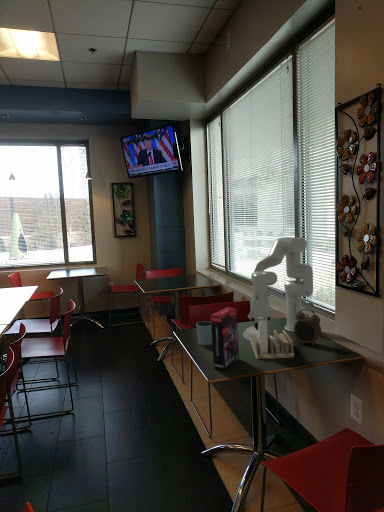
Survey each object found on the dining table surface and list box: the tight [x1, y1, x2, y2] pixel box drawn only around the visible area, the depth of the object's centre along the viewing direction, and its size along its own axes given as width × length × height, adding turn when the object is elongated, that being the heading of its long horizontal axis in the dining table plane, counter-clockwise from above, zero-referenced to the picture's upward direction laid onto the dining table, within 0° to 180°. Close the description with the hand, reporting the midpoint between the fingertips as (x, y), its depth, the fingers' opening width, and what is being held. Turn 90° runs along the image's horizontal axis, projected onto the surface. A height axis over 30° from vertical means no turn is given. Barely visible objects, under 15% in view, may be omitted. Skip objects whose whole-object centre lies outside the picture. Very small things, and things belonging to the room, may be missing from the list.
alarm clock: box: [294, 308, 322, 347], centre depth 208 cm, size 15×7×20 cm, turn 47°
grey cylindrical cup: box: [195, 320, 212, 346], centre depth 217 cm, size 10×10×12 cm
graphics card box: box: [210, 307, 240, 371], centre depth 184 cm, size 17×7×27 cm, turn 148°
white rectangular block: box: [255, 317, 269, 354], centre depth 200 cm, size 4×16×18 cm, turn 179°
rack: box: [250, 329, 295, 360], centre depth 201 cm, size 19×22×8 cm
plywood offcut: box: [277, 333, 289, 353], centre depth 201 cm, size 2×15×7 cm, turn 179°
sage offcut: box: [269, 334, 280, 354], centre depth 201 cm, size 2×16×6 cm, turn 5°
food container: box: [242, 325, 270, 342], centre depth 225 cm, size 16×25×7 cm, turn 16°
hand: (261, 328), depth 200 cm, fingers closed on white rectangular block, 4 cm apart
